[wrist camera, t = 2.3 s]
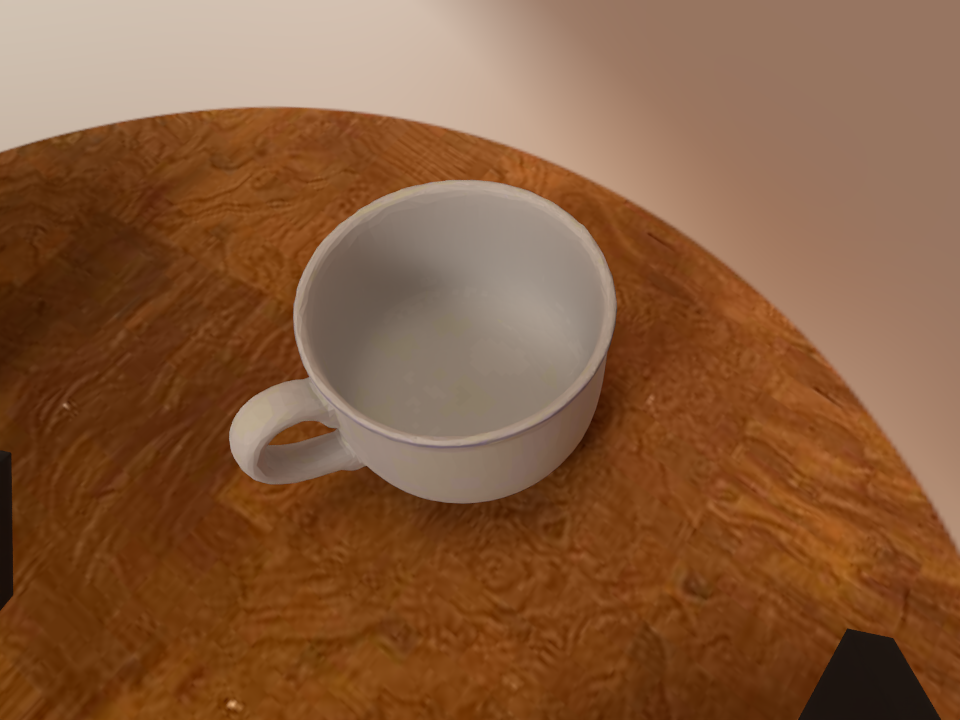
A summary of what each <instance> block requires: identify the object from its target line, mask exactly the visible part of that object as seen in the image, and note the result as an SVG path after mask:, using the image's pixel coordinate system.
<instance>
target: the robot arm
mask: <svg viewBox="0 0 960 720" xmlns="http://www.w3.org/2000/svg"><path fill="white" fill-rule="evenodd" d="M12 596H13V546H12V474H11V453H10V452H5V451H1V450H0V610H1V609H2V608H3V607H4V605H5V604H6V603H7V602H8V601H9V599H10V598H11V597H12ZM798 720H941V719H940V717H939V715H938V714H937V712H936V710H935V709H934V707H933V705H932V703H931V702H930V700H929V698H928V697H927V695H926V693H925V692H924V690H923V688H922V686H921V685H920V683H919V681H918V680H917V678H916V676H915V675H914V673H913V671H912V669H911V668H910V666H909V664H908V663H907V661H906V659H905V658H904V656H903V654H902V652H901V651H900V649H899V647H898V646H897V644H896V642H895V641H894V639H893V638H890V637H885V636H880V635H876V634H871V633H866V632H861V631H857V630H852V629H847V630H846V632H845V634H844V636H843V638H842V639H841V641H840V643H839V645H838V647H837V649H836V650H835V652H834V654H833V656H832V658H831V660H830V662H829V663H828V665H827V667H826V669H825V671H824V673H823V675H822V676H821V678H820V680H819V682H818V684H817V686H816V687H815V689H814V691H813V693H812V695H811V697H810V699H809V700H808V702H807V704H806V706H805V708H804V710H803V712H802V713H801V715H800V717H799V719H798Z"/></svg>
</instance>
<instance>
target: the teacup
mask: <svg viewBox="0 0 960 720" xmlns="http://www.w3.org/2000/svg"><path fill="white" fill-rule="evenodd" d="M616 313H617V302H616V292H615V287H614V282H613V277H612V274H611V272H610V269H609V267H608V265H607V262H606V260H605V257H604V255H603V253H602V251H601V250H600V248H599V247H598V245H597V243H596V242H595V240H594V239H593V237H592V236H591V235H590V233H589V232H588V231H587V229H586V228H585V227H584V225H582V224H580V223H579V222H578V221H577V220H576V219H575V218H573V217H572V216H571V215H570V214H569V213H567V212H566V211H565V210H563V209H562V208H560V207H559V206H558V205H556V204H555V203H553V202H551V201H549V200H547V199H544V198H542V197H540V196H538V195H536V194H535V193H533V192H531V191H528V190H524V189H521V188H518V187H514V186H510V185H506V184H502V183H496V182H489V181H478V180H447V181H442V182H431V183H427V184H423V185H416V186H412V187H409V188H405V189H402V190H399V191H397V192H395V193H392V194H388V195H386V196H384V197H382V198H379V199H377V200H375V201H373V202H372V203H370V204H369V205H367V206H365V207H363V208H361V209H359V210H358V211H357V212H356V213H355V214H354V215H352V216H351V217H349V218H348V219H347V220H345V221H344V222H342V223H341V224H339V225H338V226H337V227H336V229H335V230H334V231H332V232H331V233H330V234H329V235H328V236H327V237H326V238H325V239H324V240H323V242H322V243H321V244H320V245H319V247H318V248H317V249H316V251H315V252H314V254H313V256H312V258H311V259H310V261H309V263H308V265H307V266H306V268H305V270H304V272H303V274H302V277H301V279H300V282H299V285H298V288H297V293H296V298H295V302H294V313H293V318H294V332H295V339H296V343H297V346H298V349H299V353H300V356H301V359H302V362H303V365H304V367H305V369H306V370H307V373H308V375H309V378H306V379H304V380H293V381H288V382H284V383H281V384H278V385H275V386H272V387H270V388H268V389H267V390H265V391H263V392H261V393H259V394H257V395H256V396H254V397H253V398H251V399H250V400H249V401H248V402H247V403H246V404H245V405H244V406H243V407H242V408H241V409H240V410H239V412H238V413H237V415H236V416H235V418H234V419H233V422H232V425H231V428H230V435H229V440H230V446H231V451H232V454H233V456H234V458H235V460H236V461H237V463H238V464H239V466H240V467H241V469H242V470H243V471H244V472H245V473H246V474H248V475H249V476H250V477H252V478H253V479H254V480H256V481H260V482H263V483H267V484H287V483H297V482H301V481H305V480H309V479H312V478H316V477H319V476H323V475H326V474H329V473H332V472H336V471H339V470H357V469H360V468H362V467H364V466H368V467H369V468H370V469H371V470H372V471H373V472H375V473H376V474H378V475H379V476H380V477H382V478H383V479H384V480H386V481H387V482H389V483H390V484H392V485H394V486H395V487H397V488H399V489H401V490H403V491H405V492H407V493H410V494H413V495H415V496H418V497H421V498H425V499H429V500H434V501H440V502H446V503H477V502H485V501H491V500H495V499H500V498H504V497H506V496H509V495H512V494H515V493H517V492H520V491H522V490H524V489H526V488H528V487H530V486H532V485H534V484H535V483H537V482H539V481H540V480H542V479H543V478H545V477H546V476H548V475H549V474H550V473H551V472H553V471H554V470H555V469H556V468H557V467H559V466H560V465H561V464H562V463H563V461H564V460H565V459H566V458H567V457H568V456H569V455H570V454H571V453H572V452H573V451H574V449H575V448H576V446H577V445H578V444H579V442H580V441H581V439H582V438H583V436H584V434H585V432H586V430H587V428H588V427H589V425H590V422H591V420H592V417H593V415H594V412H595V410H596V407H597V403H598V400H599V396H600V392H601V387H602V383H603V378H604V371H605V365H606V358H607V351H608V349H609V347H610V344H611V340H612V336H613V332H614V328H615V323H616ZM301 421H319V422H321V423H323V424H324V425H326V426H327V427H330V428H337V429H336V430H335V432H331V433H328V434H325V435H322V436H318V437H315V438H312V439H308V440H305V441H302V442H298V443H293V444H287V445H268V444H269V442H270V441H271V440H272V439H273V438H274V437H275V436H276V435H277V434H278V433H280V432H281V431H283V430H285V429H286V428H288V427H290V426H292V425H295V424H297V423H299V422H301Z"/></svg>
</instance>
